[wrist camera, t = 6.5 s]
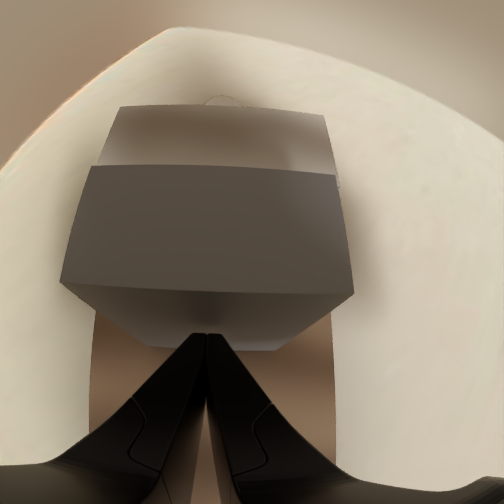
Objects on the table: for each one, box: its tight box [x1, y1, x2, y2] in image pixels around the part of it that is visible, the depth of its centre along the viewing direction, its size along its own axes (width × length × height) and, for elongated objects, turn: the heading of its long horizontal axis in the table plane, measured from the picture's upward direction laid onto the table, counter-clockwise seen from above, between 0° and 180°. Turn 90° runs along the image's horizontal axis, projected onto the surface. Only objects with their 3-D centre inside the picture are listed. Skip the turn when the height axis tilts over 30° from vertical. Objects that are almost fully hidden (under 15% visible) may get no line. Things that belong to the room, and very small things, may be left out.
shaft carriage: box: [60, 96, 354, 351], centre depth 13 cm, size 13×6×9 cm, turn 0°
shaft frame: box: [89, 105, 340, 504], centre depth 12 cm, size 20×12×8 cm, turn 0°
